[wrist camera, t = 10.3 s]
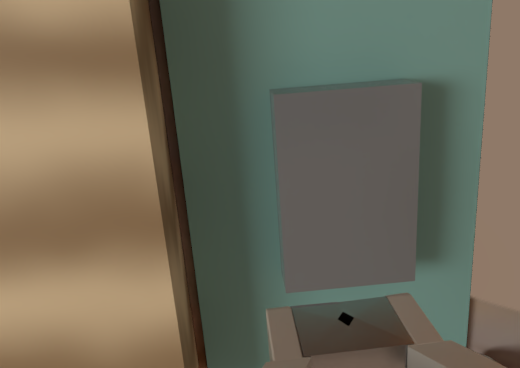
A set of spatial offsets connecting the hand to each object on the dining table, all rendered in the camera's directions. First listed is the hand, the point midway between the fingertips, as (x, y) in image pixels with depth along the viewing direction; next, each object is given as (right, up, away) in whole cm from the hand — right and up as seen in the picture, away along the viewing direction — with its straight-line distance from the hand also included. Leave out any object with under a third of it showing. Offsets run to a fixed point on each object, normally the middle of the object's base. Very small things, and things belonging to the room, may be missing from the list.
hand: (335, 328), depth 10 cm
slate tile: (+2, +3, +10) cm, 11 cm away
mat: (+2, +4, +12) cm, 13 cm away
